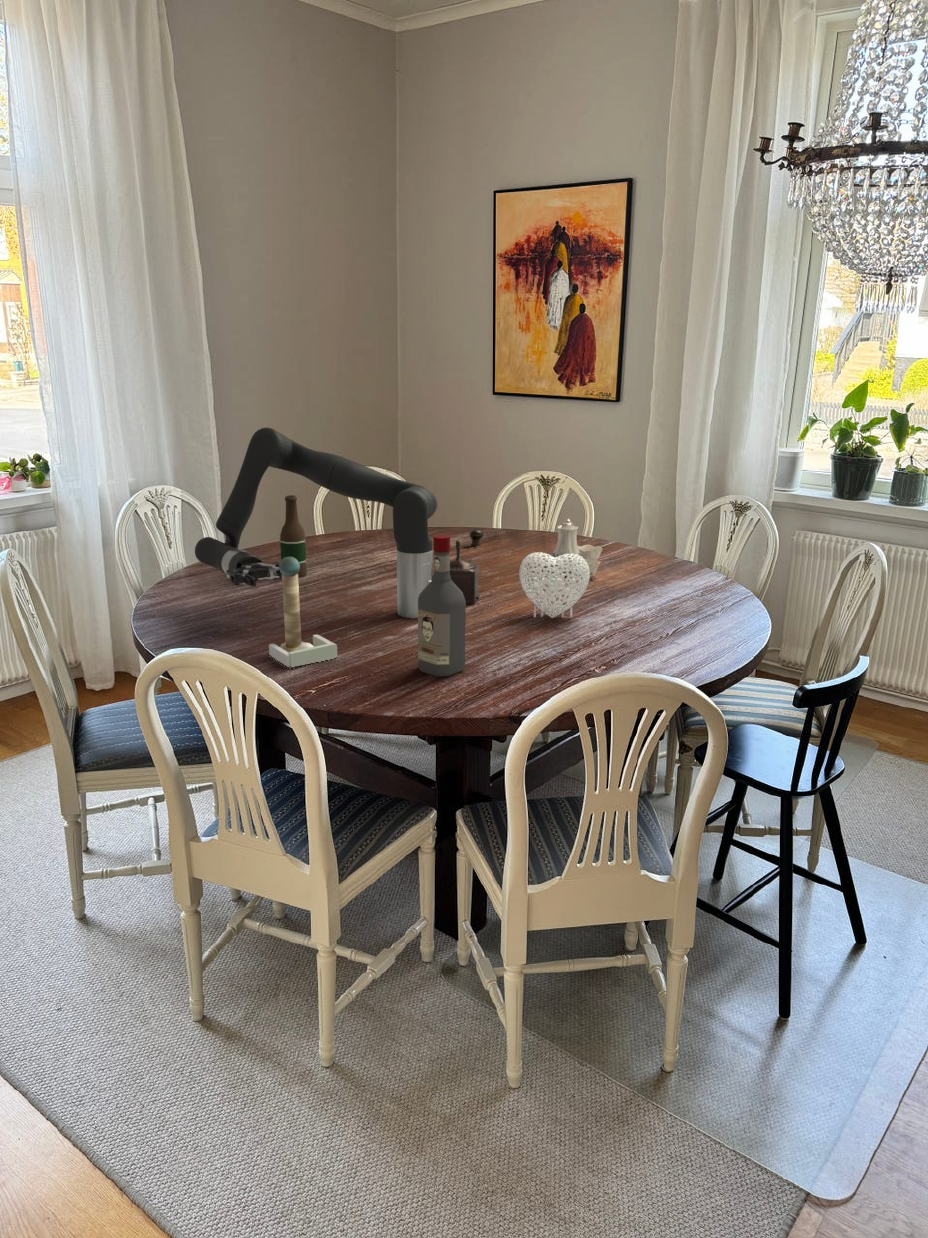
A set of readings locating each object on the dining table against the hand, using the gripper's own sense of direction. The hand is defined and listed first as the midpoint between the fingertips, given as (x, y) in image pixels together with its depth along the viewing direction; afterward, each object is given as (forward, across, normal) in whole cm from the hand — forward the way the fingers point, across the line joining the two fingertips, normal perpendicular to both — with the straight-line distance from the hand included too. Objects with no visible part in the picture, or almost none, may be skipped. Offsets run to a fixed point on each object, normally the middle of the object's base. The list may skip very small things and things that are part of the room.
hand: (271, 579), depth 222 cm
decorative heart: (+27, +66, +15) cm, 73 cm away
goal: (+16, -1, +15) cm, 22 cm away
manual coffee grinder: (-2, +58, +15) cm, 60 cm away
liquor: (+41, +20, +15) cm, 48 cm away
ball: (+18, -1, +13) cm, 22 cm away
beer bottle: (-49, +31, +15) cm, 59 cm away
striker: (+12, -1, +15) cm, 19 cm away
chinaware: (-5, +104, +16) cm, 106 cm away
